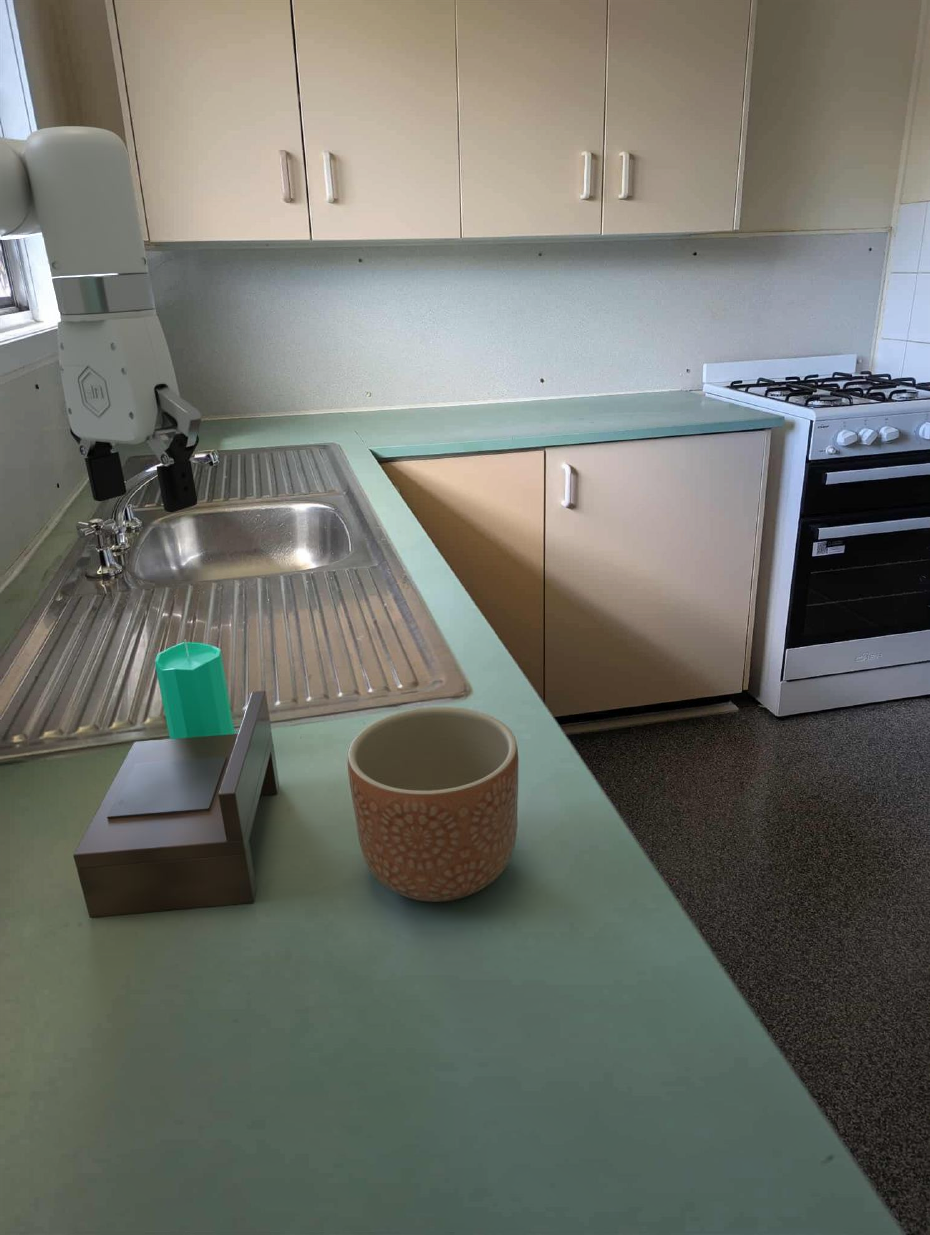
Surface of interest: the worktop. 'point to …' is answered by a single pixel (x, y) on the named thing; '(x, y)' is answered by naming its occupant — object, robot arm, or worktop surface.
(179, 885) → the wooden chair-shaped stand
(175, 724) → the candle
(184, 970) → the worktop surface
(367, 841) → the planter
